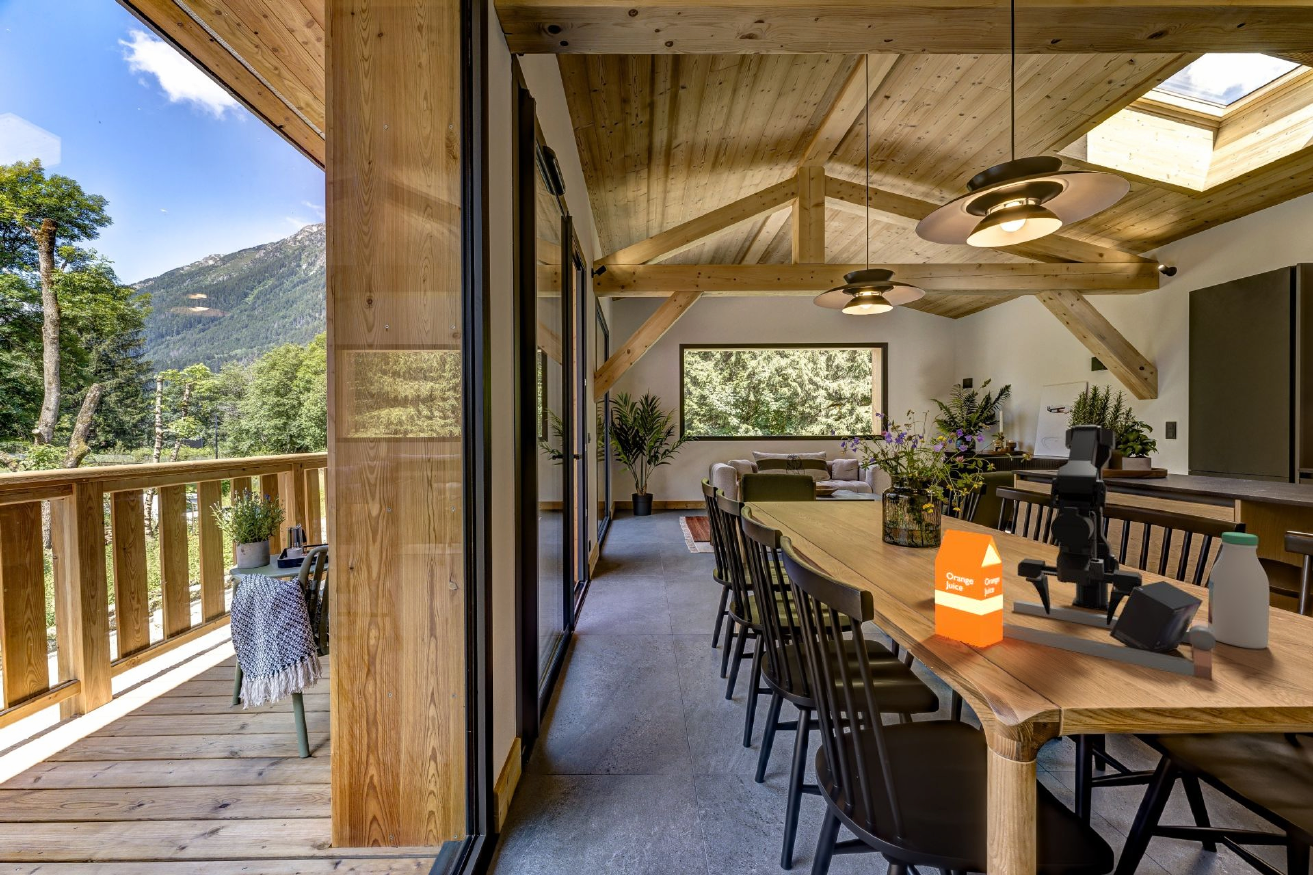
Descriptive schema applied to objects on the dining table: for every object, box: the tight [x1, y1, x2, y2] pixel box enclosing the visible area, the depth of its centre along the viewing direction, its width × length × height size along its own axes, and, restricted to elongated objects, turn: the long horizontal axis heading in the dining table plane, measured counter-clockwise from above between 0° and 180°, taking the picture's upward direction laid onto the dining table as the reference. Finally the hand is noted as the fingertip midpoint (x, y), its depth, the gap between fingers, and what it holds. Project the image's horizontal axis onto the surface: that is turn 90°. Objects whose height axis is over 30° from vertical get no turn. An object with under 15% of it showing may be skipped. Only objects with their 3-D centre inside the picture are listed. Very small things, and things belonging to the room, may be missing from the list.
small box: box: [1108, 580, 1203, 654], centre depth 98 cm, size 11×6×10 cm, turn 115°
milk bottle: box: [1207, 531, 1270, 650], centre depth 102 cm, size 8×8×20 cm
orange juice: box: [934, 528, 1004, 648], centre depth 106 cm, size 8×9×20 cm
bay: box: [1003, 599, 1217, 681], centre depth 104 cm, size 21×30×7 cm
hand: (1077, 619), depth 106 cm, fingers open, 9 cm apart
